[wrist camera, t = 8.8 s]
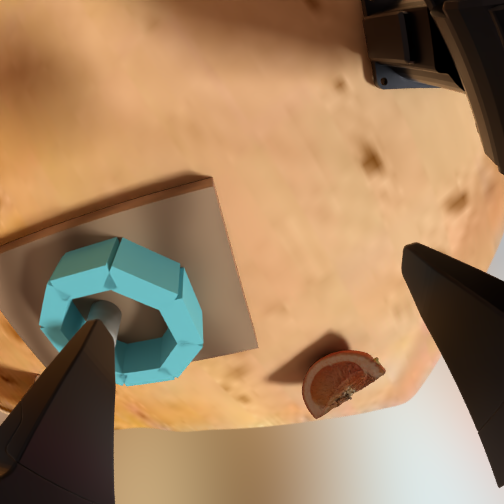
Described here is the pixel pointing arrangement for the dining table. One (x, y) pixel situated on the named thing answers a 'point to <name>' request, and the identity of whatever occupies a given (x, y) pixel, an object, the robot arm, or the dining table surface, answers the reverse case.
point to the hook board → (153, 238)
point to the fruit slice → (338, 379)
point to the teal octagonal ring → (137, 288)
